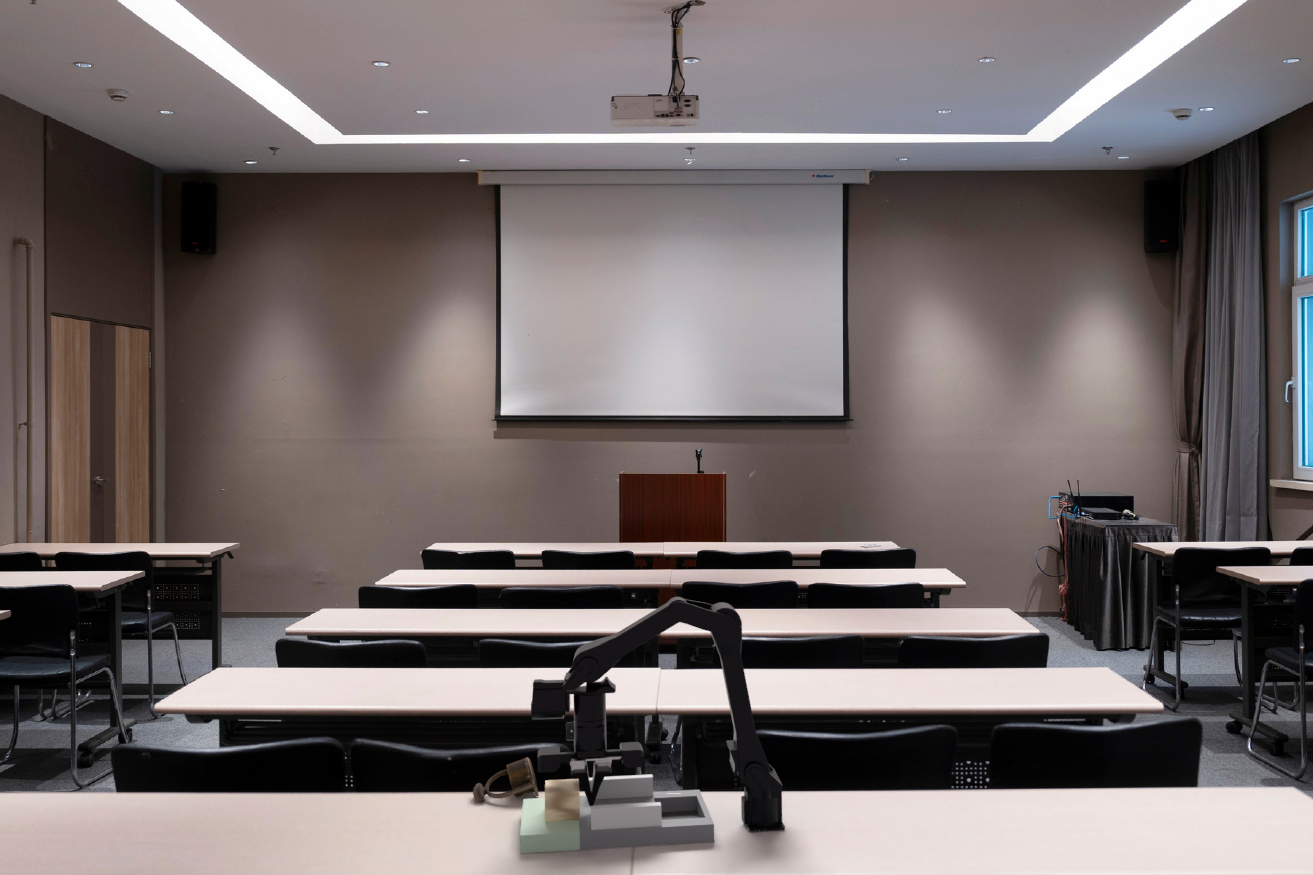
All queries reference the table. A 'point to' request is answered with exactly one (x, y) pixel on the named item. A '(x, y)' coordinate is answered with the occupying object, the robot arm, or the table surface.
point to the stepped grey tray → (620, 819)
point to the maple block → (562, 800)
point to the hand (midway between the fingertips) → (591, 805)
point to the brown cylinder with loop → (519, 778)
